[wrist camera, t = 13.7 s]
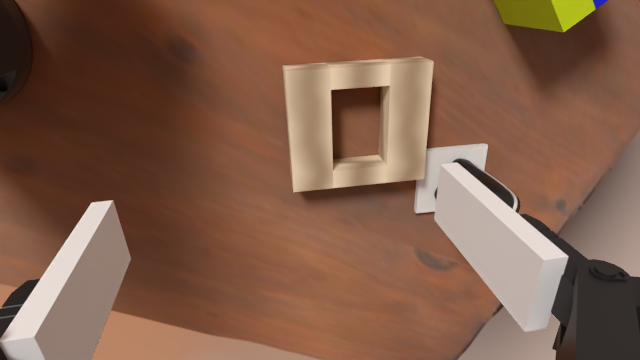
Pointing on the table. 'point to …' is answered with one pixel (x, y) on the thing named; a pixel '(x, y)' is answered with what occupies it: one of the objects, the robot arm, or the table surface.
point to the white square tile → (434, 158)
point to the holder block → (394, 132)
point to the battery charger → (489, 184)
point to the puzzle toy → (545, 12)
